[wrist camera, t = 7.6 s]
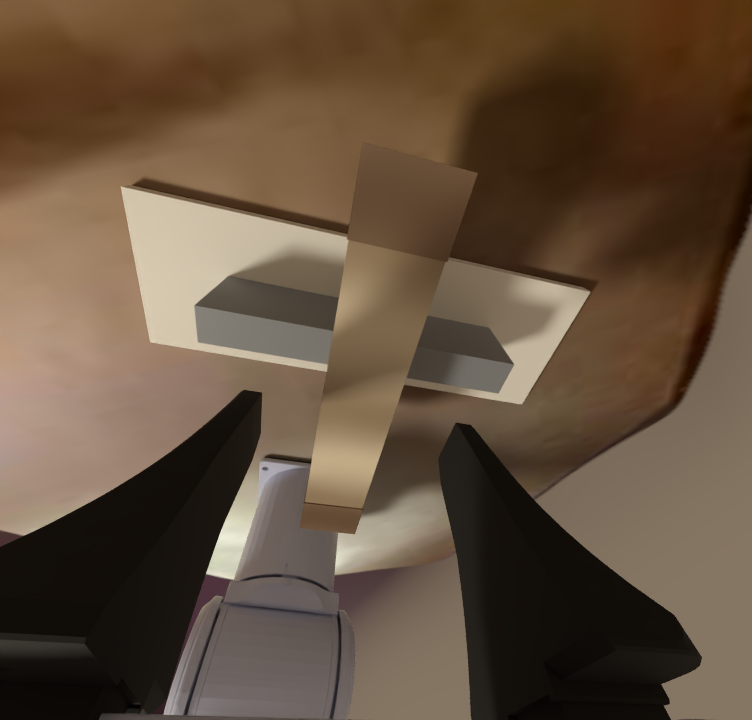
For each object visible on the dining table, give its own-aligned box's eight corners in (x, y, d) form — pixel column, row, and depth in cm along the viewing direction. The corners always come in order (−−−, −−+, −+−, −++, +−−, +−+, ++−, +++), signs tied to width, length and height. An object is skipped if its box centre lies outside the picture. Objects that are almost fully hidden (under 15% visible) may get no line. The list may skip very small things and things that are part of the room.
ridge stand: (517, 397, 24) (548, 448, 20) (157, 336, 21) (104, 381, 17) (583, 287, 20) (641, 323, 15) (130, 185, 16) (48, 196, 12)
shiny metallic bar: (365, 145, 11) (362, 142, 8) (446, 167, 12) (478, 172, 8) (310, 466, 21) (299, 528, 18) (357, 472, 21) (354, 534, 18)
